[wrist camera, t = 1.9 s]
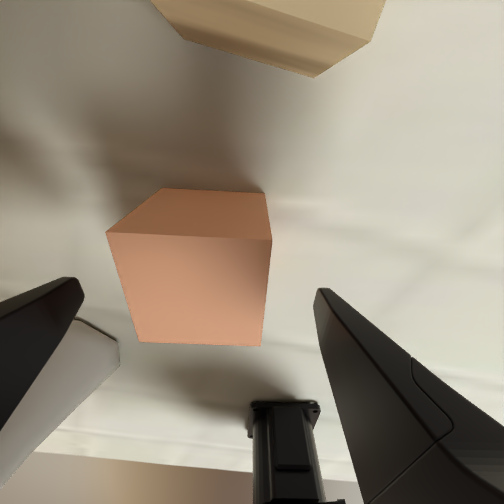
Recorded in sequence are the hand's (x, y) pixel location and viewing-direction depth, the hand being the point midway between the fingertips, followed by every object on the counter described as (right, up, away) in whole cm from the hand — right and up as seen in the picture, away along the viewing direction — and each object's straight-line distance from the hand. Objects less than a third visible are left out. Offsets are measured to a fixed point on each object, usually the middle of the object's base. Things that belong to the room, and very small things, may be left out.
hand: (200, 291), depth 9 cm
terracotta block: (0, +2, +4) cm, 5 cm away
